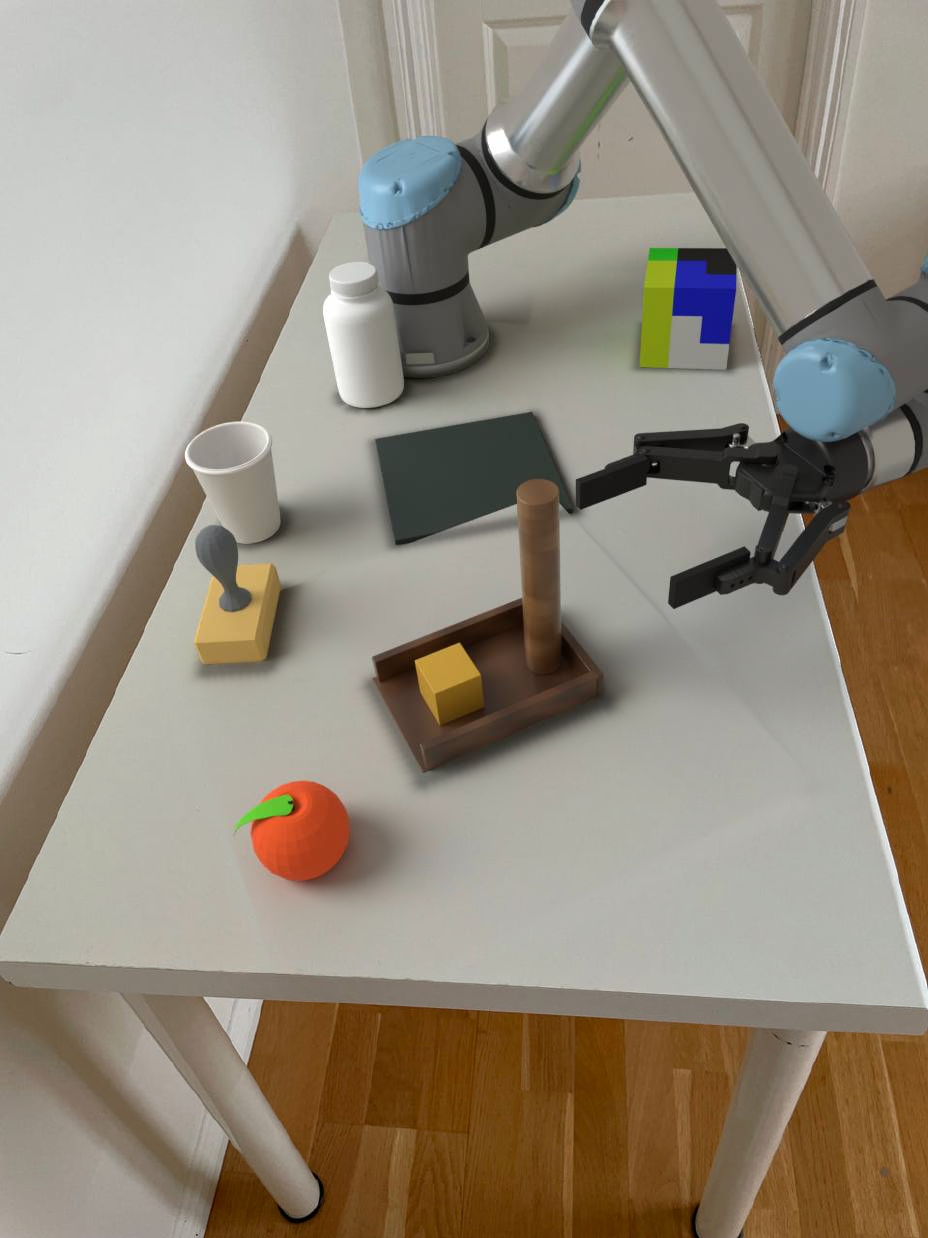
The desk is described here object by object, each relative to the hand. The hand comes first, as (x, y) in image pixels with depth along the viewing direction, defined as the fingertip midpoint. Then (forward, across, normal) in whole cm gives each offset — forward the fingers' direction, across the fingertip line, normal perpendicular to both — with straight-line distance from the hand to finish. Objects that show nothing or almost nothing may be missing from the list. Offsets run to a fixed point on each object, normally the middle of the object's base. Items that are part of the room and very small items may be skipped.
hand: (621, 541), depth 73 cm
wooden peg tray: (+13, 0, -11) cm, 17 cm away
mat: (+1, +28, -11) cm, 30 cm away
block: (+16, 0, -10) cm, 19 cm away
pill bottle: (+4, +49, -11) cm, 51 cm away
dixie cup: (+24, +32, -11) cm, 42 cm away
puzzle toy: (-33, +38, -12) cm, 51 cm away
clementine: (+31, -7, -12) cm, 34 cm away
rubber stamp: (+28, +18, -12) cm, 36 cm away
